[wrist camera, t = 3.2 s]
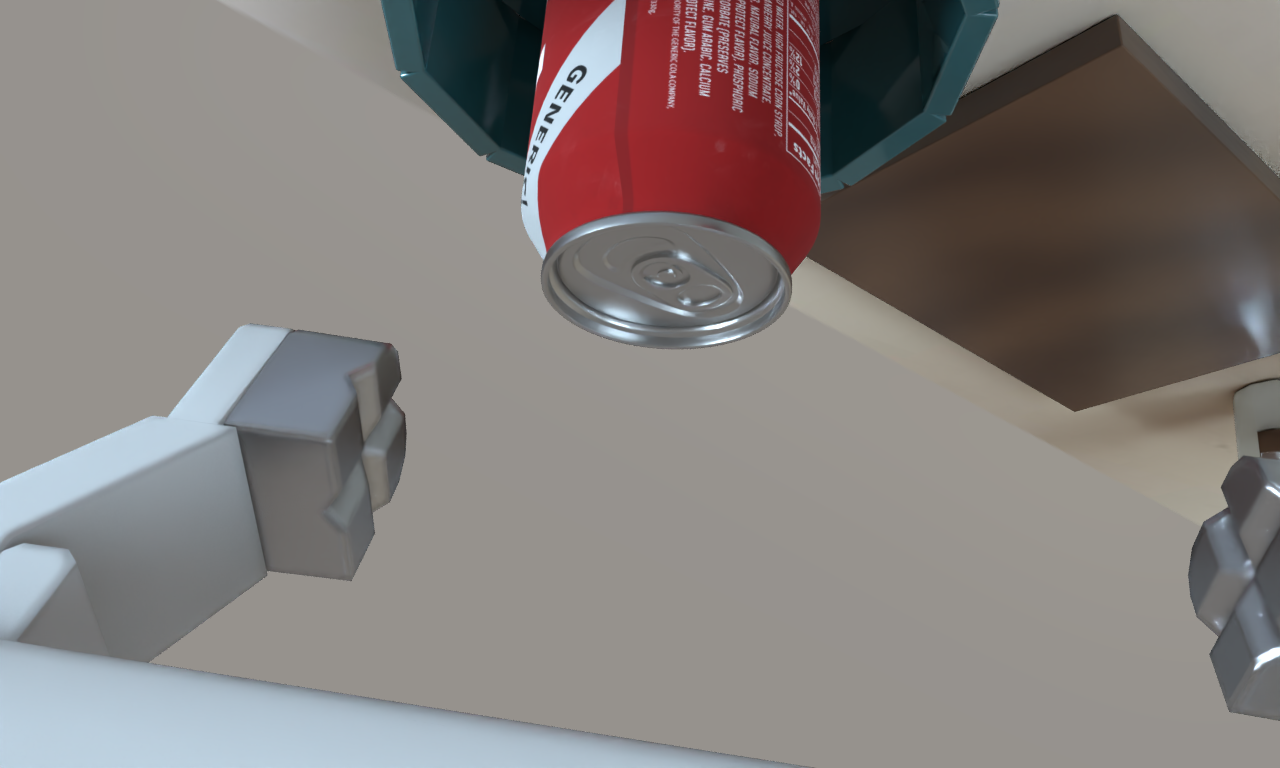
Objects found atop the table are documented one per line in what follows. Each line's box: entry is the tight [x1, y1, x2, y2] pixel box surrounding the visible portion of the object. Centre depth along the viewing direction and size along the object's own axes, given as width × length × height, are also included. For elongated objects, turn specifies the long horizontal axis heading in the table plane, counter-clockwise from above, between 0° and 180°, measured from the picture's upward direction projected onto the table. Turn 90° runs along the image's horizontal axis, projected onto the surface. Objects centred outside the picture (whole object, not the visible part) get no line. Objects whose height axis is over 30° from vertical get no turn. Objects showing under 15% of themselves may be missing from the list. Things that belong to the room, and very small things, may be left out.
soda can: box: [521, 0, 821, 349], centre depth 27 cm, size 7×7×12 cm
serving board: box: [807, 15, 1280, 412], centre depth 43 cm, size 22×14×1 cm, turn 49°
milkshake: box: [1233, 380, 1280, 460], centre depth 51 cm, size 5×5×10 cm
